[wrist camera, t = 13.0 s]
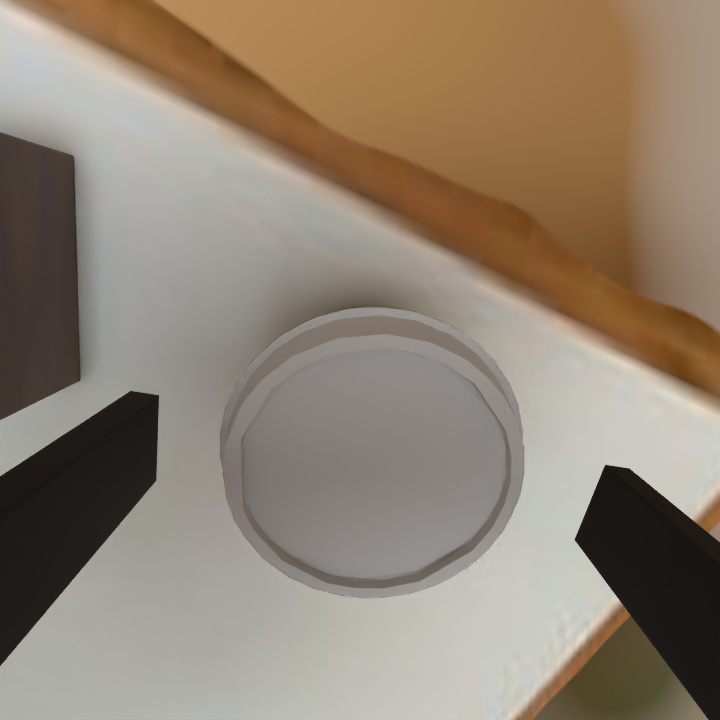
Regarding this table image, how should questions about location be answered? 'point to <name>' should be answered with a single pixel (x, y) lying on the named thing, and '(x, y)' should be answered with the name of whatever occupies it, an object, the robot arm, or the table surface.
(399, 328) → the disposable coffee cup
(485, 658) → the table surface
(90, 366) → the table surface
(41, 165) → the mauve-gray square block
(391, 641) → the table surface
